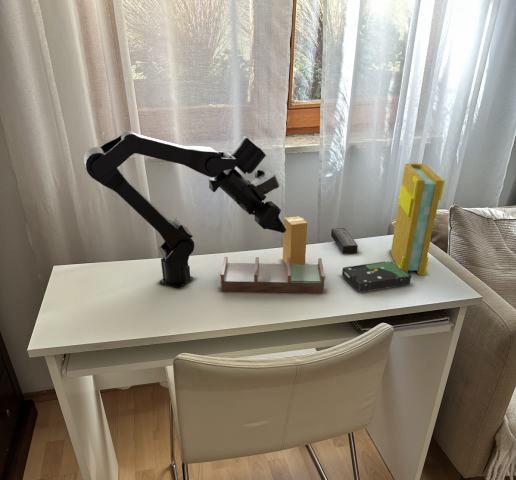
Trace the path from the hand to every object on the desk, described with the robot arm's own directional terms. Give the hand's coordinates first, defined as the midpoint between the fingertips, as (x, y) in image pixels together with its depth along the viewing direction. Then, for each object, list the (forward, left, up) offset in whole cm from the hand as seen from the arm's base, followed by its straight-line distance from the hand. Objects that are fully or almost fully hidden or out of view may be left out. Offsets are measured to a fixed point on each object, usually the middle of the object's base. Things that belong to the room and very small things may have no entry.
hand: (278, 225), depth 132 cm
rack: (+4, -10, -12) cm, 16 cm away
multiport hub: (+11, +24, -12) cm, 29 cm away
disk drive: (+27, +4, -12) cm, 30 cm away
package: (+3, +4, -12) cm, 13 cm away
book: (+31, +20, -12) cm, 38 cm away
